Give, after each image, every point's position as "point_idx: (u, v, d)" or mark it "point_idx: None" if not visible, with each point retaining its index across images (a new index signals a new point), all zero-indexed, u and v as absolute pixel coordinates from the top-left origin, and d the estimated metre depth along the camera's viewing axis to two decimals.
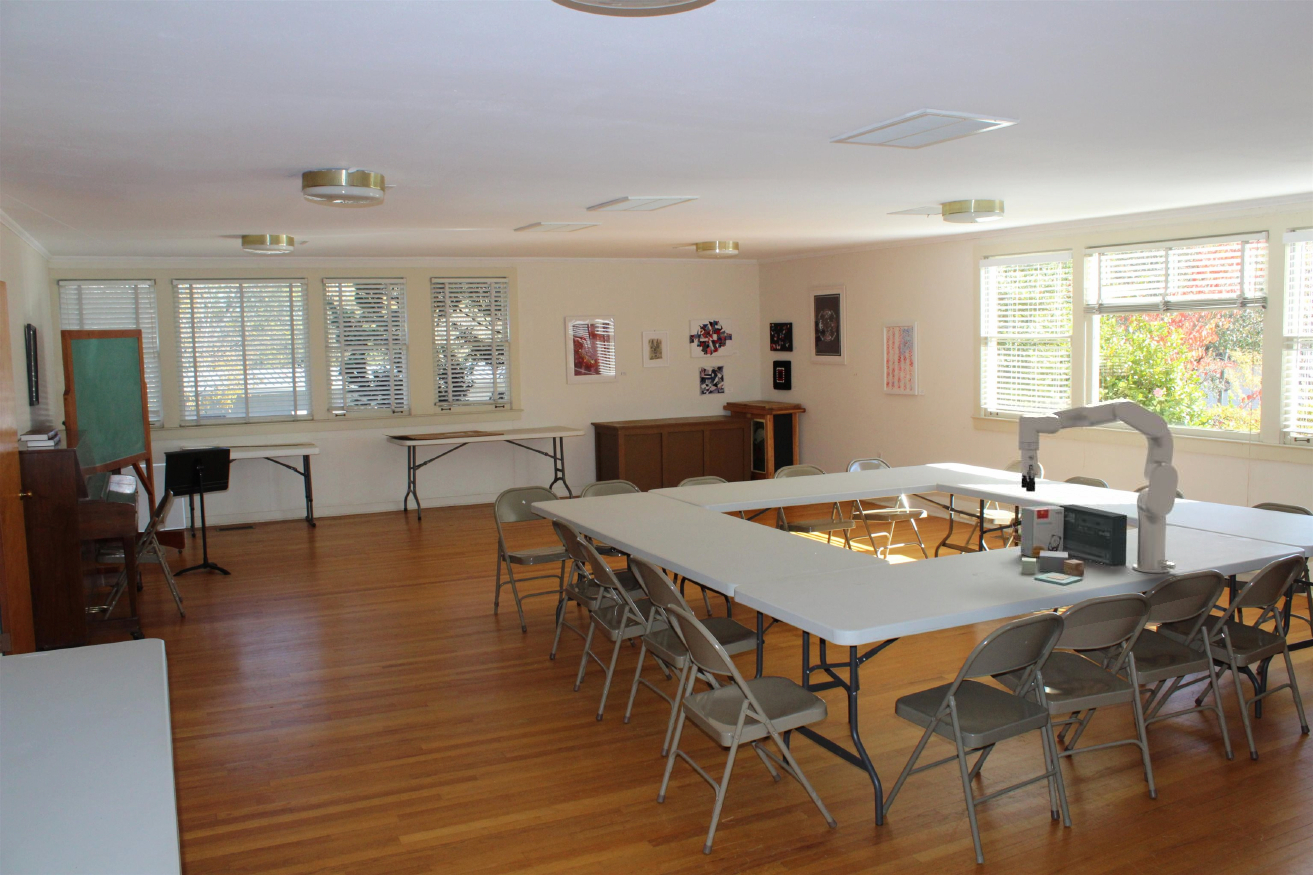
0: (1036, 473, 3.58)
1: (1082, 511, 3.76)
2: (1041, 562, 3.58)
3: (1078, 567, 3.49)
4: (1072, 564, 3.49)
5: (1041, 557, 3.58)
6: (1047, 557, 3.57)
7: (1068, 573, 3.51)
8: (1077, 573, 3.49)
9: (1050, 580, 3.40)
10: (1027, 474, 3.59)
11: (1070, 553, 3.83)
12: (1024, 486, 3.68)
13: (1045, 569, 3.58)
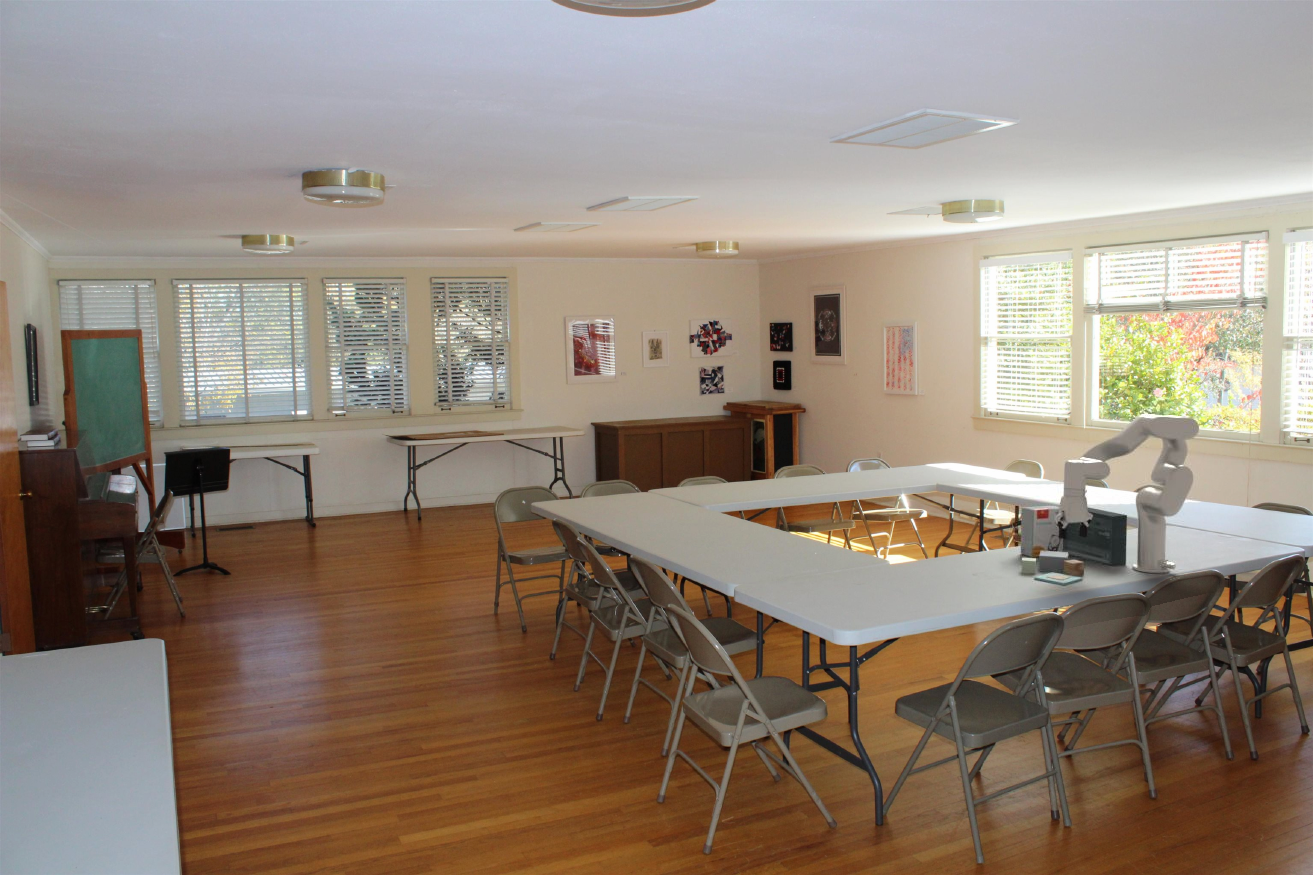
0: None
1: None
2: (1041, 562, 3.59)
3: (1079, 567, 3.49)
4: (1072, 564, 3.49)
5: (1041, 557, 3.59)
6: (1047, 557, 3.58)
7: (1068, 573, 3.51)
8: (1077, 573, 3.49)
9: (1050, 580, 3.40)
10: None
11: (1070, 553, 3.83)
12: None
13: (1045, 569, 3.58)
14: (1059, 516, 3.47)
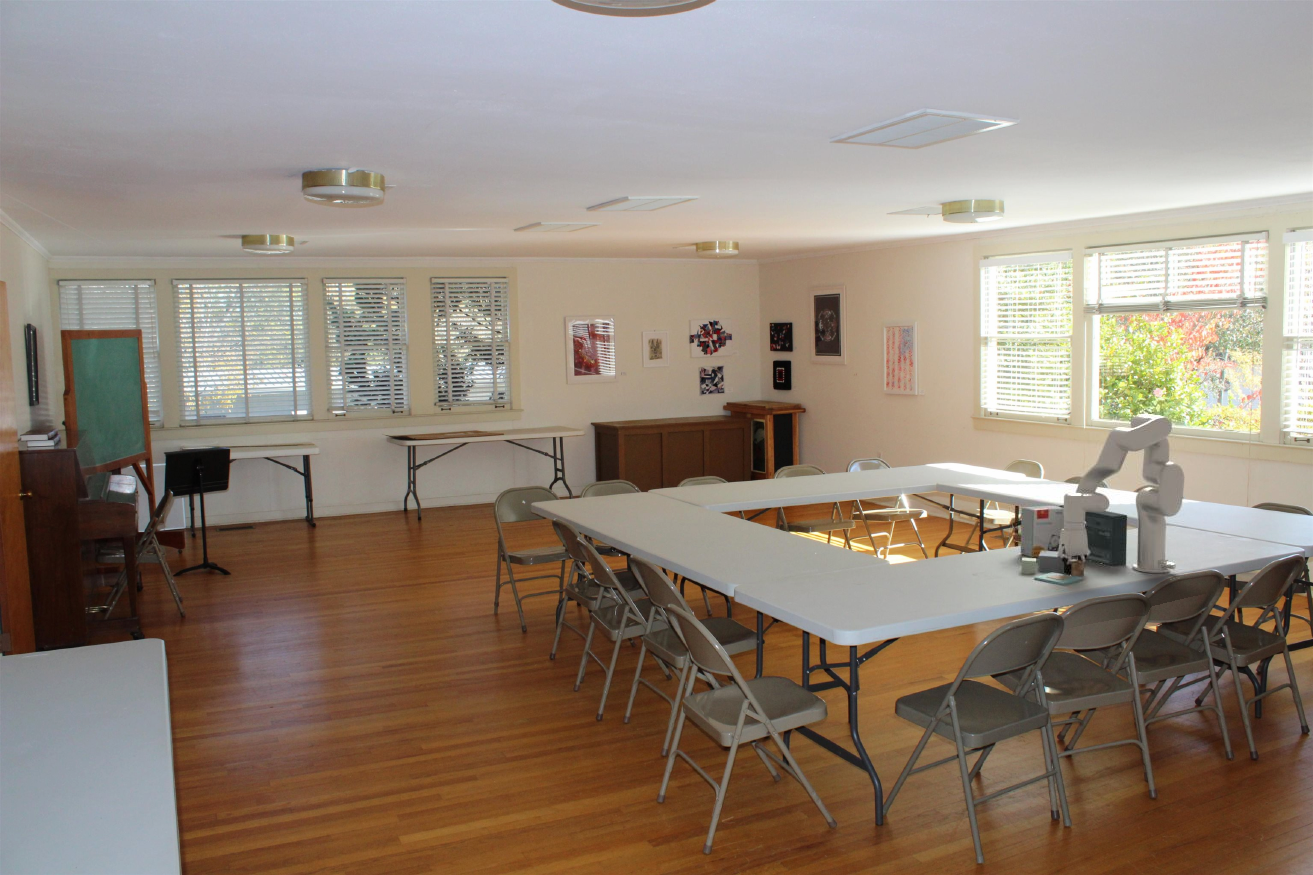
0: None
1: None
2: (1040, 562, 3.59)
3: (1078, 567, 3.49)
4: (1072, 564, 3.49)
5: (1040, 557, 3.59)
6: (1046, 557, 3.58)
7: None
8: (1077, 573, 3.49)
9: (1050, 580, 3.40)
10: (1083, 554, 3.51)
11: None
12: None
13: (1044, 569, 3.58)
14: (1062, 552, 3.49)
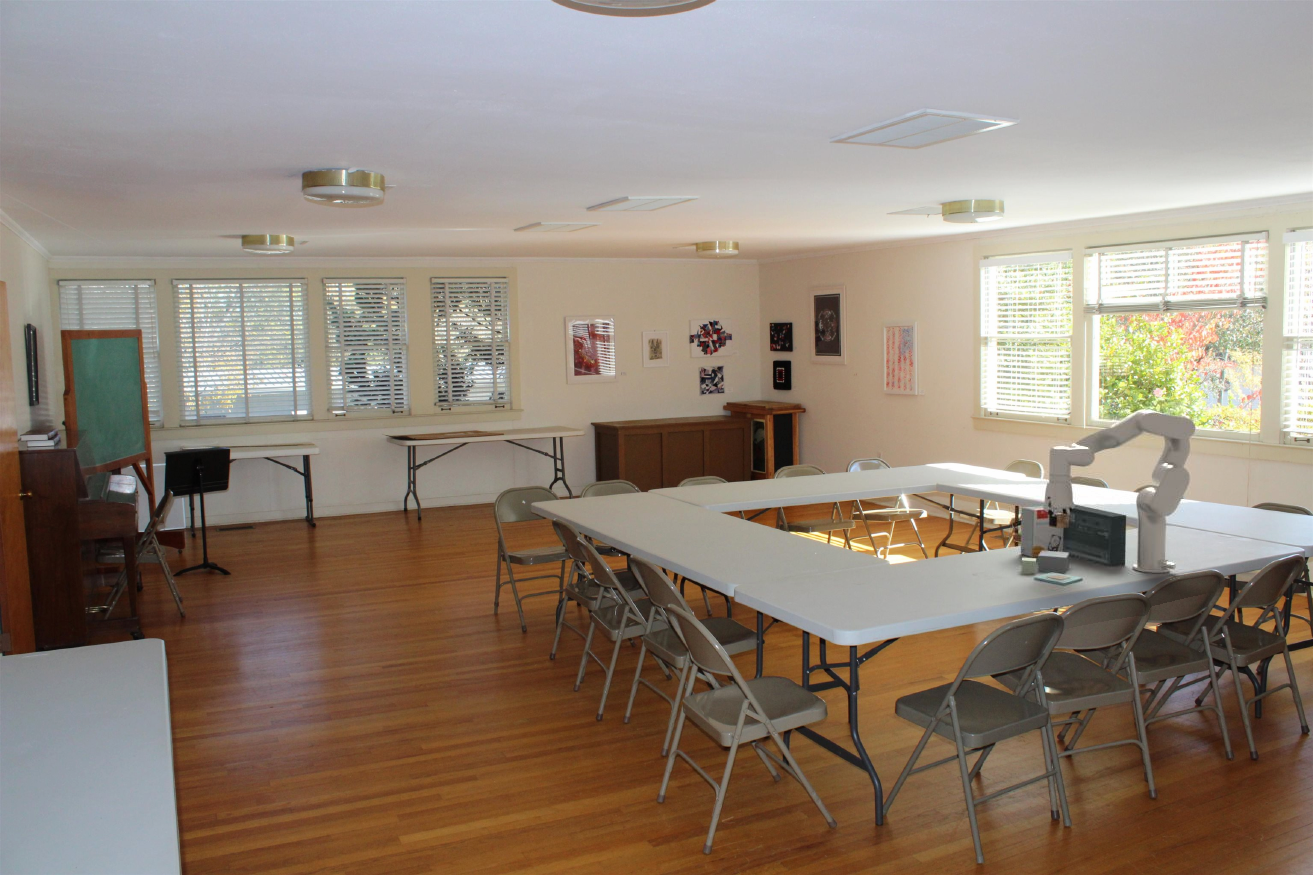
0: None
1: (1082, 511, 3.76)
2: (1040, 562, 3.59)
3: (1064, 519, 3.55)
4: (1057, 516, 3.54)
5: (1040, 557, 3.59)
6: (1046, 557, 3.58)
7: None
8: (1062, 526, 3.55)
9: (1050, 580, 3.40)
10: (1068, 507, 3.57)
11: (1070, 553, 3.84)
12: None
13: (1044, 569, 3.59)
14: (1047, 505, 3.54)
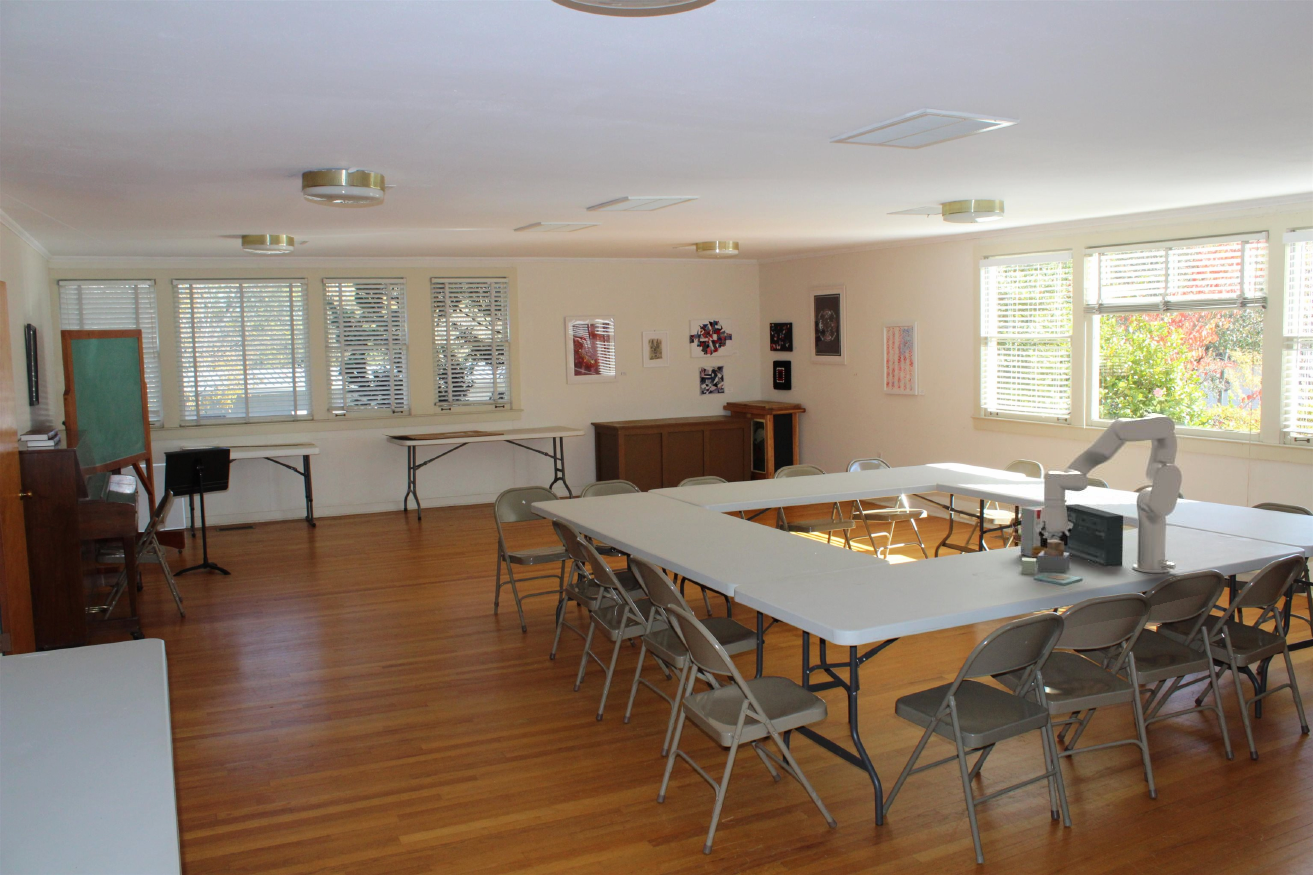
0: None
1: (1082, 511, 3.76)
2: (1039, 562, 3.59)
3: (1058, 546, 3.59)
4: (1052, 544, 3.58)
5: (1039, 557, 3.59)
6: (1045, 557, 3.58)
7: (1048, 553, 3.60)
8: (1057, 553, 3.59)
9: (1050, 580, 3.40)
10: None
11: (1072, 553, 3.84)
12: None
13: (1043, 569, 3.59)
14: (1040, 526, 3.57)
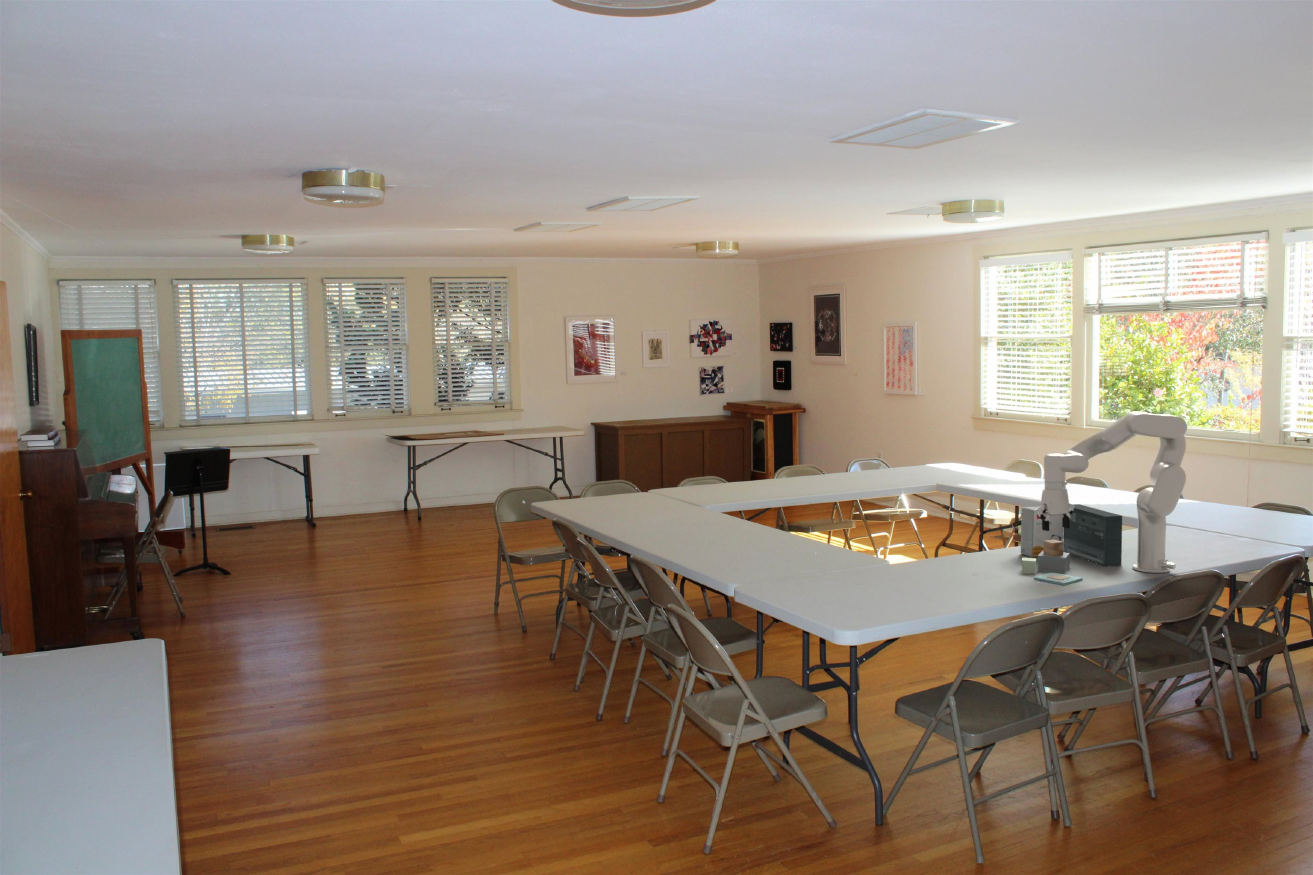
0: None
1: (1082, 511, 3.76)
2: (1039, 562, 3.59)
3: (1058, 546, 3.59)
4: (1051, 544, 3.58)
5: (1039, 557, 3.59)
6: (1045, 557, 3.58)
7: (1048, 552, 3.60)
8: (1056, 553, 3.59)
9: (1050, 580, 3.40)
10: None
11: (1072, 552, 3.84)
12: None
13: (1043, 569, 3.59)
14: (1041, 509, 3.57)
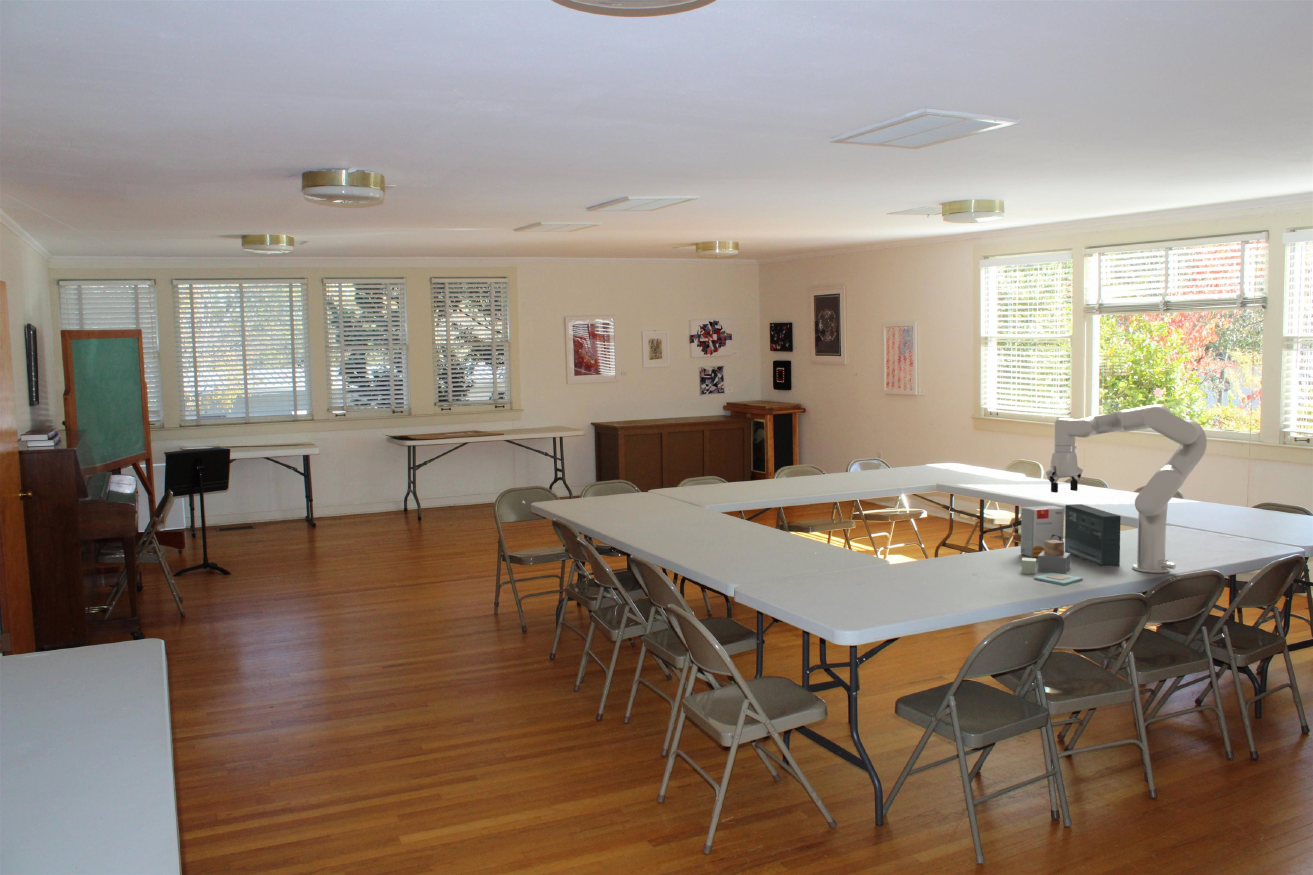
0: None
1: (1081, 511, 3.77)
2: (1039, 562, 3.59)
3: (1058, 547, 3.58)
4: (1052, 544, 3.58)
5: (1039, 557, 3.59)
6: (1045, 557, 3.58)
7: (1048, 553, 3.60)
8: (1057, 553, 3.58)
9: (1050, 580, 3.40)
10: None
11: (1073, 552, 3.85)
12: None
13: (1043, 569, 3.59)
14: (1051, 471, 3.68)
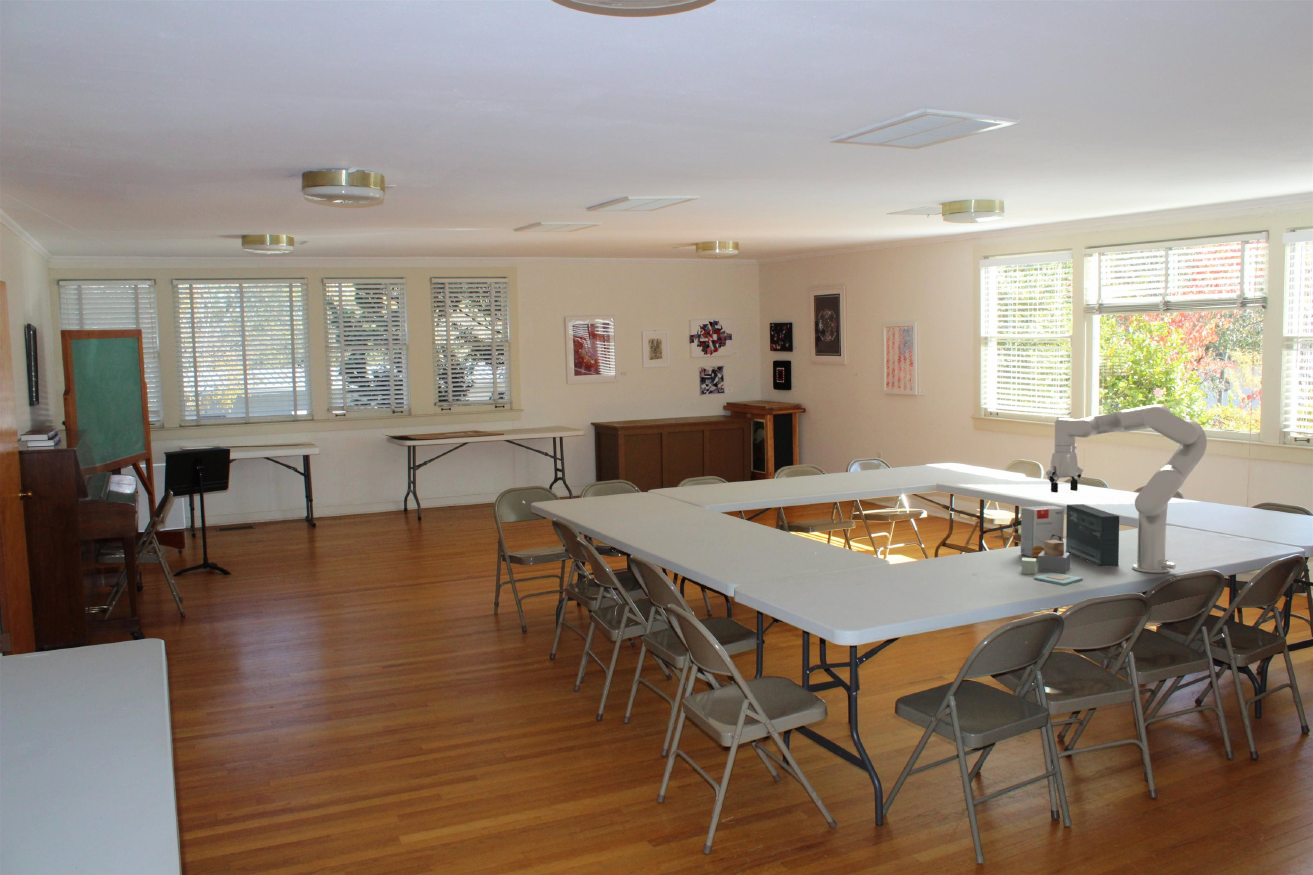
0: None
1: (1081, 511, 3.77)
2: (1039, 562, 3.59)
3: (1058, 547, 3.58)
4: (1051, 544, 3.58)
5: (1039, 557, 3.59)
6: (1045, 557, 3.58)
7: (1048, 553, 3.60)
8: (1056, 553, 3.58)
9: (1050, 580, 3.40)
10: None
11: (1073, 552, 3.85)
12: None
13: (1043, 569, 3.59)
14: (1051, 471, 3.68)
